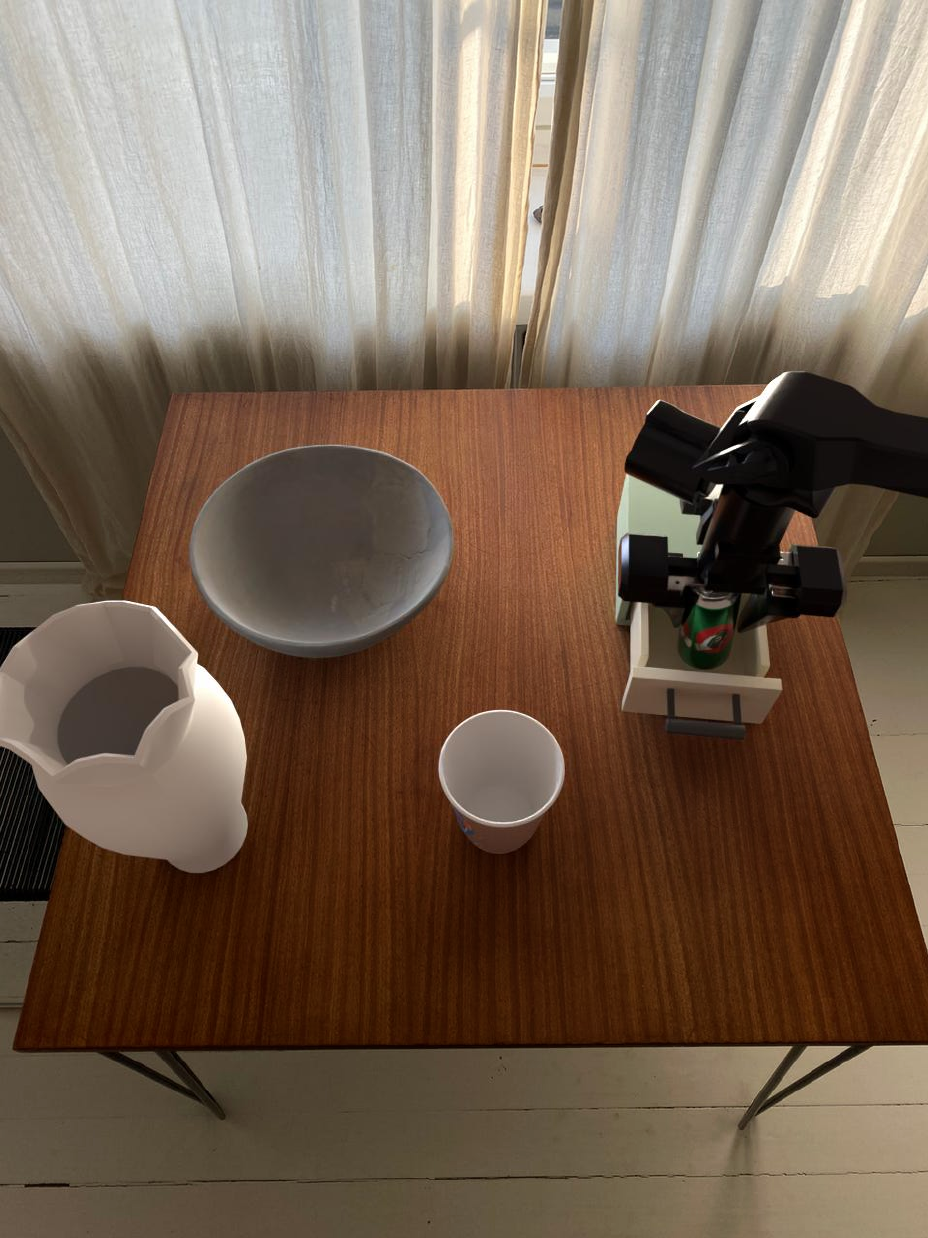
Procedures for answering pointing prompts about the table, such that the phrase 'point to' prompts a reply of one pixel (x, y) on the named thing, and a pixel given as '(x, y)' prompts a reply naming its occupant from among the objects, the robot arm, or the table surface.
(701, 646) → the soda can
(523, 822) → the coffee cup
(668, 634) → the drawer
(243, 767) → the vase
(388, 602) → the bowl
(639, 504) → the cabinet
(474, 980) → the table surface
